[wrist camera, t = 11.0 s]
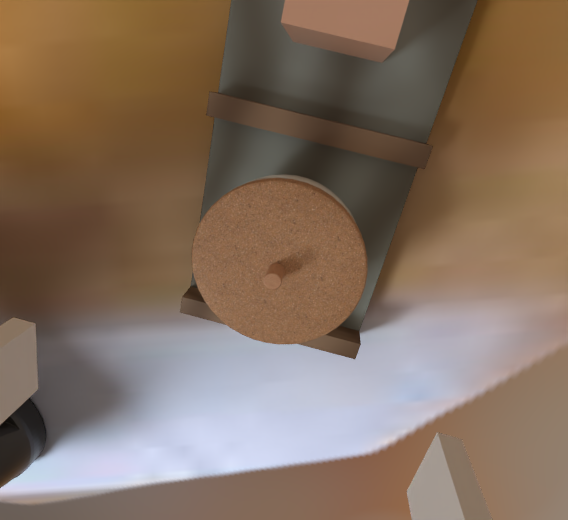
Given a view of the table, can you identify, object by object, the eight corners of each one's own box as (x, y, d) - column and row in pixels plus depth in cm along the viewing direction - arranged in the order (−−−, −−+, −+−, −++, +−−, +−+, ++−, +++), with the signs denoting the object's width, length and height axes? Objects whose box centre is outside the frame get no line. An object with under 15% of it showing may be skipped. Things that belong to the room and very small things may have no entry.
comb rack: (194, 293, 35) (179, 312, 32) (266, -194, 22) (254, -246, 19) (353, 335, 34) (355, 359, 31) (520, -140, 22) (553, -184, 18)
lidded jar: (331, 309, 32) (330, 384, 23) (211, 268, 32) (165, 327, 23) (382, 189, 28) (403, 225, 19) (244, 142, 28) (202, 156, 19)
